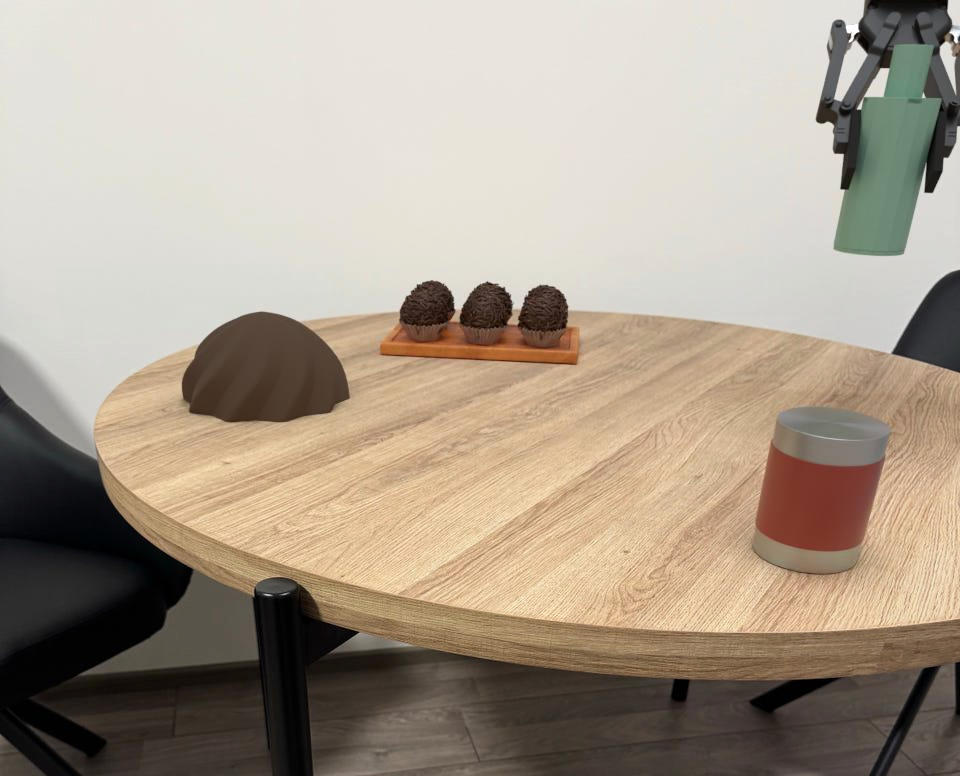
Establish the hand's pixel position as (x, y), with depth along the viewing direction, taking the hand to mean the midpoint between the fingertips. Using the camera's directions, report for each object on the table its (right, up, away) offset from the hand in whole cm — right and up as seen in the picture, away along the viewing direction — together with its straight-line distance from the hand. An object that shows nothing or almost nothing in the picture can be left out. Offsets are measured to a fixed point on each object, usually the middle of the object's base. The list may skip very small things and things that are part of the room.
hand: (890, 180), depth 83 cm
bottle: (+1, -4, +6) cm, 7 cm away
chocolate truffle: (-37, +1, +52) cm, 64 cm away
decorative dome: (-64, -13, +27) cm, 70 cm away
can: (-11, -35, -8) cm, 37 cm away
